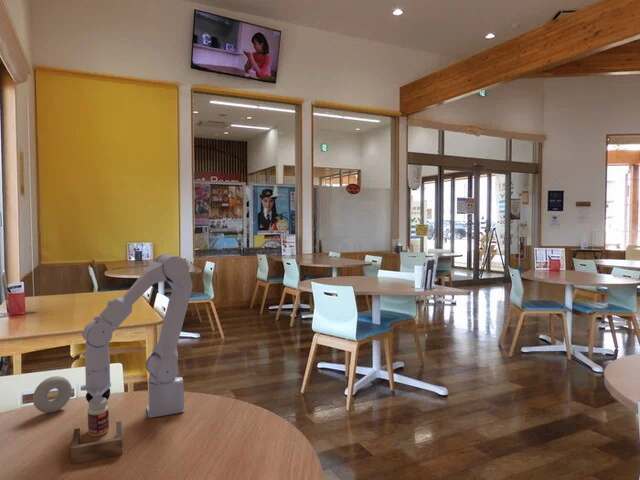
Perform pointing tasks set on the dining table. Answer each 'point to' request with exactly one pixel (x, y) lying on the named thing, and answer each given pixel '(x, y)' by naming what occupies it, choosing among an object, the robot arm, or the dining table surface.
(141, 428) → the dining table surface
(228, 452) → the dining table surface
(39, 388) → the donut
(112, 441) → the brown u-shaped block
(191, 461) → the dining table surface
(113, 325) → the robot arm
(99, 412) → the pill bottle
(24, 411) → the dining table surface
